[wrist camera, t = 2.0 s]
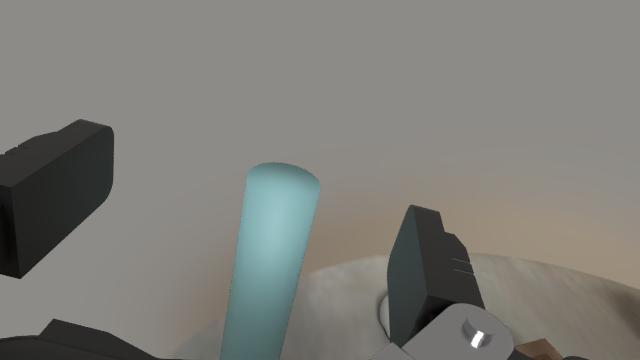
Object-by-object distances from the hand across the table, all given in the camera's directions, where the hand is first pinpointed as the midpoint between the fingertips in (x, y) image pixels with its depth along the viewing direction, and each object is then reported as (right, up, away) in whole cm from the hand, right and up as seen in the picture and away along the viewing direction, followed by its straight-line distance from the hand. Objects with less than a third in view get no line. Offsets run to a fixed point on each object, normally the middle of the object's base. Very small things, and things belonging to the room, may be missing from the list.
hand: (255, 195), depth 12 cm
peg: (-4, -16, +22) cm, 27 cm away
